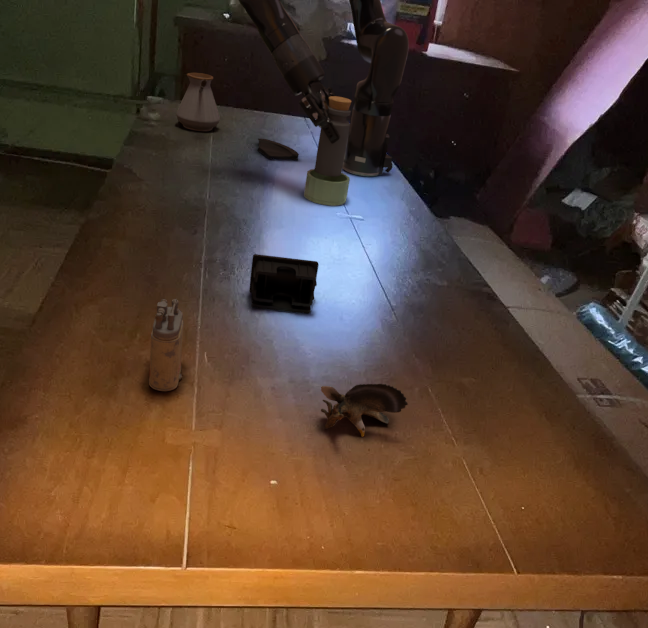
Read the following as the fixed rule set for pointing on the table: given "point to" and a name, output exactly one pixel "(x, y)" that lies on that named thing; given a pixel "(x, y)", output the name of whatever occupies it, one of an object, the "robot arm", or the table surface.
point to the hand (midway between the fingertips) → (341, 138)
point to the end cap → (283, 283)
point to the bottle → (333, 154)
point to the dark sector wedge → (276, 150)
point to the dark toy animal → (363, 403)
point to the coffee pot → (198, 104)
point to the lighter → (166, 347)
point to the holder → (326, 188)
